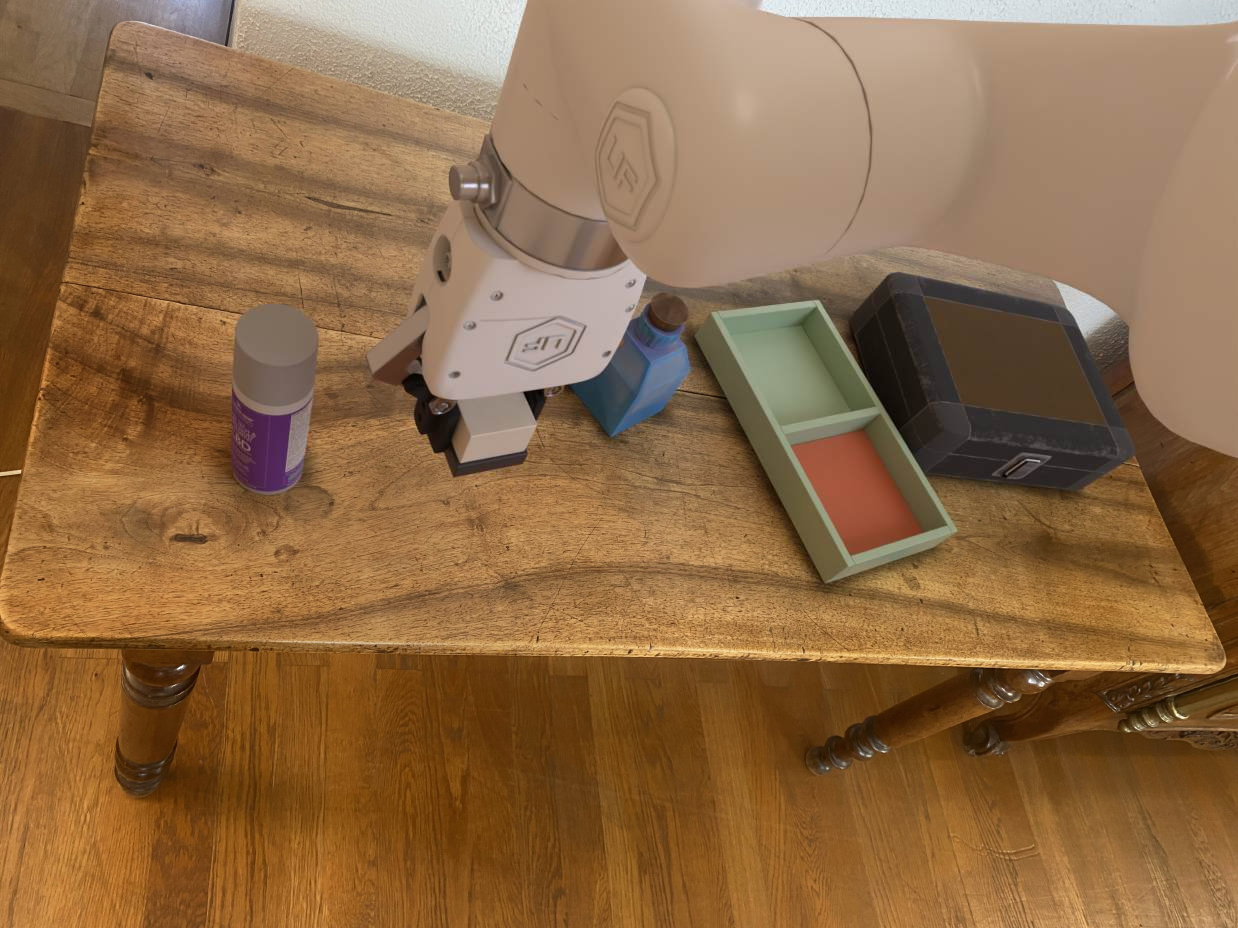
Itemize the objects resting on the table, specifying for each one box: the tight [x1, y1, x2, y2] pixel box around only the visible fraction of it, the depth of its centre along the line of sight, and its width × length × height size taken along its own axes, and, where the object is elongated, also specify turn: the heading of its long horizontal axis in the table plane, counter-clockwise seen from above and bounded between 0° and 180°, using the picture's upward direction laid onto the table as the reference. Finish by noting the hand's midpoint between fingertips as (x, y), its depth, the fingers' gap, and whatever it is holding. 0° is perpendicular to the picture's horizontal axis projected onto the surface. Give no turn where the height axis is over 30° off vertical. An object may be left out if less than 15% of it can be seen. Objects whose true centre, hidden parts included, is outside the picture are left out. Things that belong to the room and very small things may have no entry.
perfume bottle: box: [568, 291, 691, 438], centre depth 71 cm, size 6×6×12 cm
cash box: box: [850, 271, 1136, 491], centre depth 90 cm, size 25×20×8 cm
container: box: [230, 303, 320, 496], centre depth 55 cm, size 5×5×15 cm
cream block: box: [419, 354, 538, 478], centre depth 50 cm, size 9×4×4 cm, turn 24°
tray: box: [694, 299, 959, 584], centre depth 81 cm, size 14×26×4 cm, turn 24°
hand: (474, 423), depth 51 cm, fingers closed on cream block, 4 cm apart
